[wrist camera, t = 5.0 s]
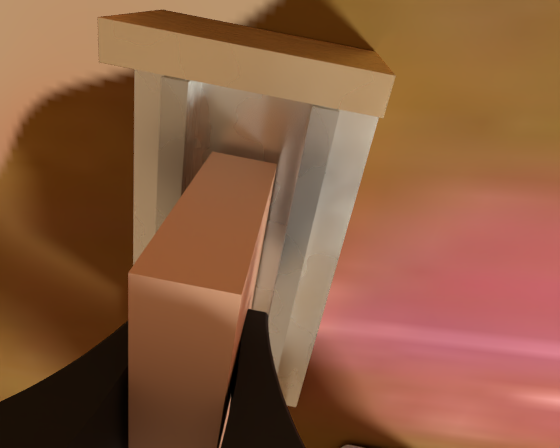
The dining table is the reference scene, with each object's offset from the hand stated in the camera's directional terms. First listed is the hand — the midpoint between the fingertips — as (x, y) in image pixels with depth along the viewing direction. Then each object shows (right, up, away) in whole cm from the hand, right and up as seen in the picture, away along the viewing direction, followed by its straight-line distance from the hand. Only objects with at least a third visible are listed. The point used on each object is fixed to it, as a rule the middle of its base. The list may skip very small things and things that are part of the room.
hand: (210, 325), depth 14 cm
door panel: (0, +1, +3) cm, 3 cm away
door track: (0, +2, +4) cm, 5 cm away
